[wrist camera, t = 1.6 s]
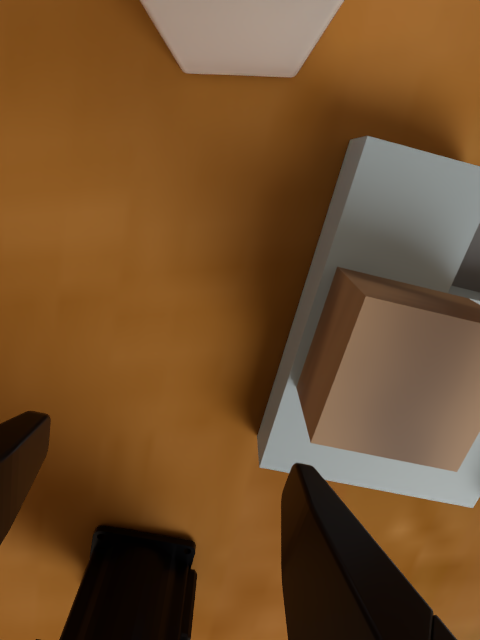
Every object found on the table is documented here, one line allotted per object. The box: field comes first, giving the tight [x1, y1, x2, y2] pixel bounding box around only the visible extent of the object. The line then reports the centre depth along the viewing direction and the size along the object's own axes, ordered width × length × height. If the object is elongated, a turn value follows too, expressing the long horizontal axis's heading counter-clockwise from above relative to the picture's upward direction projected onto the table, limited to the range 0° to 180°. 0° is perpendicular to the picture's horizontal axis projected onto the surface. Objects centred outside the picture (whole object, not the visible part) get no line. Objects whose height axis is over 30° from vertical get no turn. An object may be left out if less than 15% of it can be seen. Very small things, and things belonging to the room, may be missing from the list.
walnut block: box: [296, 267, 480, 472], centre depth 16 cm, size 6×6×4 cm
